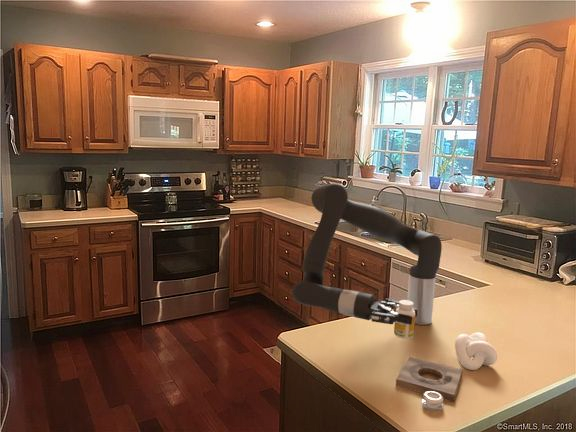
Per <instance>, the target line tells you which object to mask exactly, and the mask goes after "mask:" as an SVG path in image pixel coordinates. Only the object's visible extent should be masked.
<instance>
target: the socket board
mask: <svg viewBox="0 0 576 432" xmlns="http://www.w3.org/2000/svg"><path fill="white" fill-rule="evenodd" d="M423 375H424V376H433V377H435V378H437V380H435V379H432V380H431V379H429V378H428V379H427V378H425V377H423ZM462 377H463V369H462V368H458V367H454V366H450V365H445V364H441V363H438V362H434V361H430V360H429V361H428V360H426V359H422V358H418V357H413V356H410V355H409V356H408V358H407V360H406V362H405V363H404V365H403V366H402V368H401V370H400V372H399V373H398V375H397V377H396V379H395V386H396V387H399V388H403V389H405V390H409V391H414V392H416V393H420V394H422V395H423V394H424V393H425V392H426V391H435V392H438V393H439V394H441V395H442V396H443V398H444V401H449V402H452V403H455V399H456V396H457V394H458V393H457V392H458V389H459V386H460V383H461V379H462Z"/></svg>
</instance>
